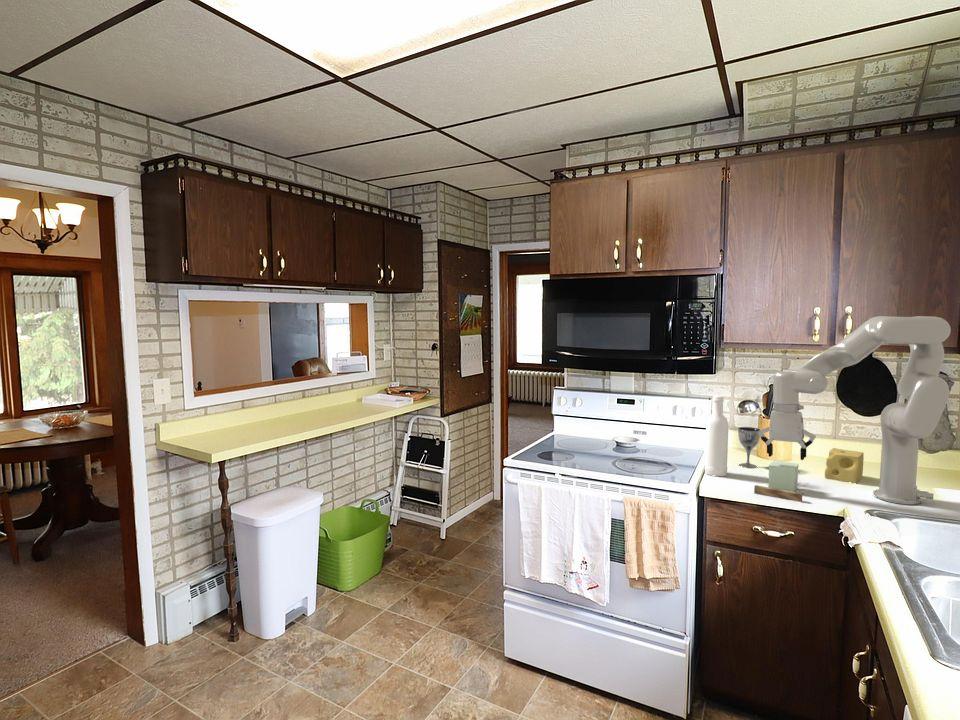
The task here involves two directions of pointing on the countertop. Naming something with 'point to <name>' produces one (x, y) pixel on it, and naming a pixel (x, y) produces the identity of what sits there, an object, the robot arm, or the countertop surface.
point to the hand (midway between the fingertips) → (786, 457)
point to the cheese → (844, 465)
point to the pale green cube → (783, 475)
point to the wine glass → (748, 442)
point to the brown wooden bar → (778, 493)
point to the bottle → (716, 440)
